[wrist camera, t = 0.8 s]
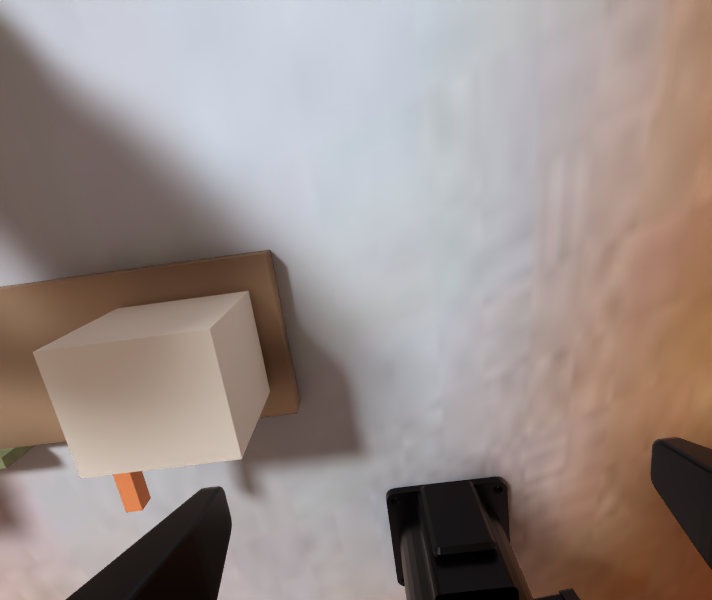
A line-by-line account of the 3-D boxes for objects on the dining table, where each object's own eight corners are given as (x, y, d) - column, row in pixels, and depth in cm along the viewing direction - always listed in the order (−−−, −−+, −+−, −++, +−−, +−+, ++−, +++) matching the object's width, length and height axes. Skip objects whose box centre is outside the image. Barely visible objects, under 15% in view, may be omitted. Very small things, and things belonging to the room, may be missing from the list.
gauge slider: (281, 443, 20) (258, 524, 15) (163, 457, 20) (104, 541, 16) (248, 290, 18) (209, 328, 13) (117, 308, 18) (32, 352, 13)
